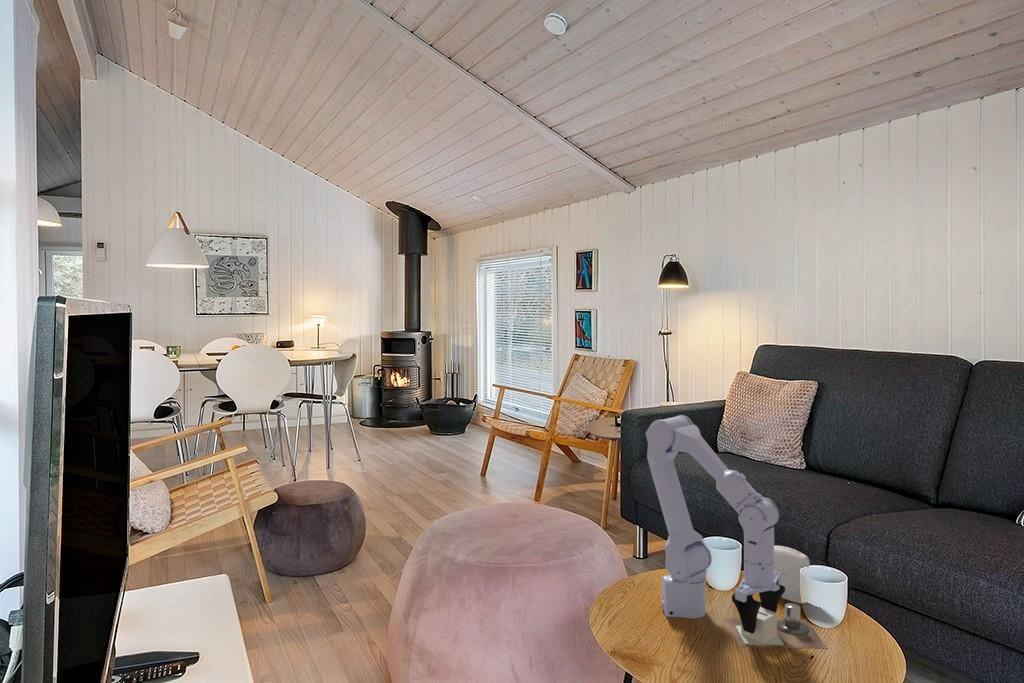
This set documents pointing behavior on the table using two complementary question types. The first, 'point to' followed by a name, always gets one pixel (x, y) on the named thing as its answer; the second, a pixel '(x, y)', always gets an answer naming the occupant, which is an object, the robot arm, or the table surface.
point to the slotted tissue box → (763, 626)
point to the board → (783, 637)
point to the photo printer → (790, 570)
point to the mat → (750, 641)
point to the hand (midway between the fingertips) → (758, 625)
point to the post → (792, 621)
